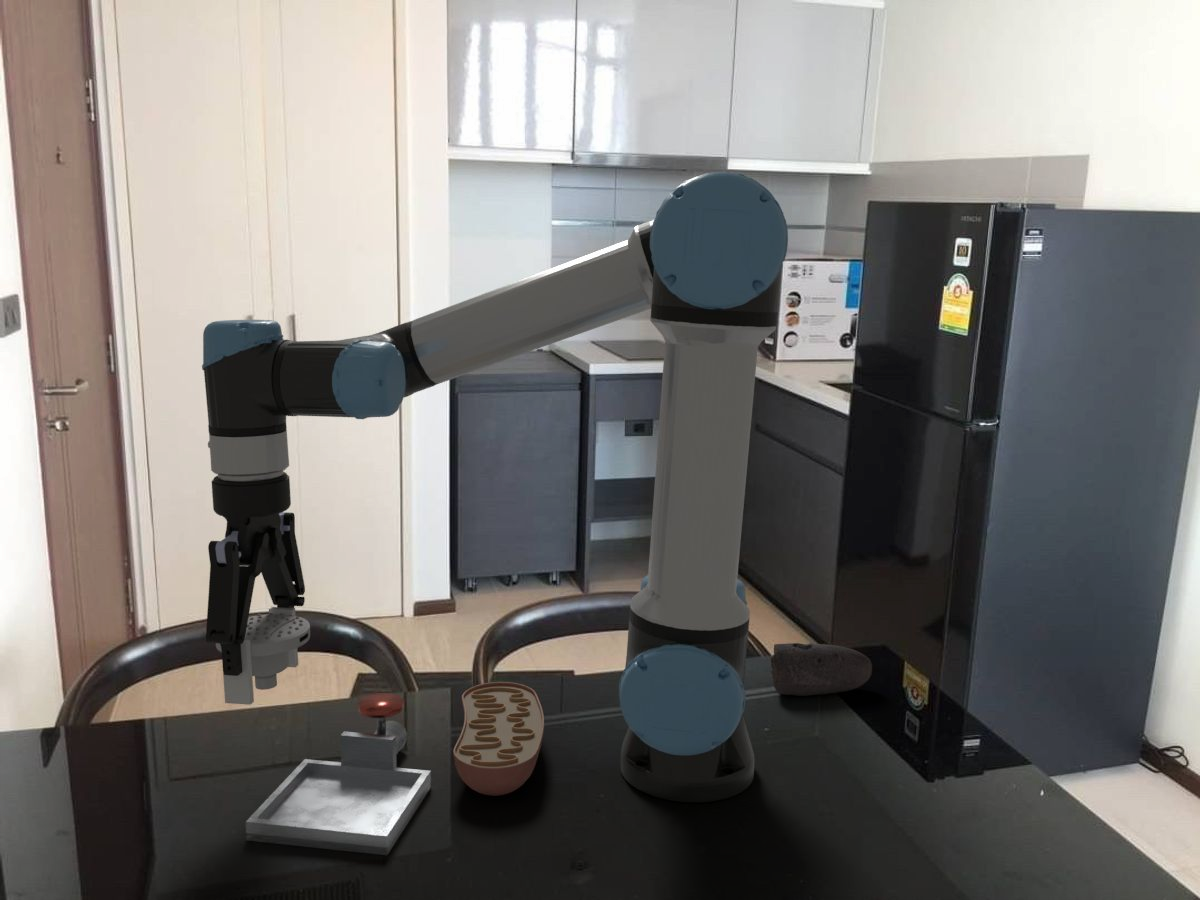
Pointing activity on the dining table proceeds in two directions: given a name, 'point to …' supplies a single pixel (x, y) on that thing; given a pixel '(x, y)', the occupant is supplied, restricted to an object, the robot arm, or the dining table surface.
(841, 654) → the perforated stone tool
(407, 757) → the dining table surface
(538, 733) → the anatomical model
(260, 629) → the showerhead
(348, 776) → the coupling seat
